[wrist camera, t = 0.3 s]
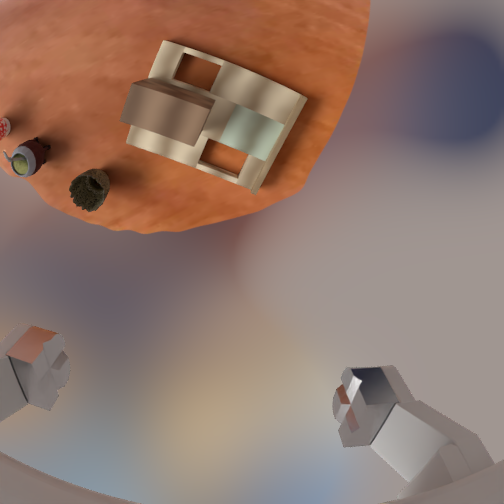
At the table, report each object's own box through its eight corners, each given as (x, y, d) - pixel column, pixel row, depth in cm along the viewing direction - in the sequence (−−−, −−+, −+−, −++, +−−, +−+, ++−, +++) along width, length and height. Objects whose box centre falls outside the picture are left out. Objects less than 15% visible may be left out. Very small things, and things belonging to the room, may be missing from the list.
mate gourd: (34, 169, 54) (-5, 201, 42) (23, 137, 49) (-20, 163, 37) (58, 160, 53) (19, 191, 41) (47, 126, 49) (4, 151, 37)
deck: (129, 140, 53) (123, 145, 50) (166, 40, 42) (161, 39, 39) (255, 187, 60) (255, 195, 57) (303, 95, 49) (307, 98, 46)
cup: (100, 199, 59) (85, 218, 53) (80, 172, 56) (62, 189, 49) (125, 181, 58) (111, 199, 51) (104, 153, 54) (87, 168, 47)
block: (139, 108, 47) (119, 121, 39) (151, 77, 44) (132, 83, 36) (202, 130, 51) (194, 147, 43) (215, 100, 48) (209, 109, 39)
